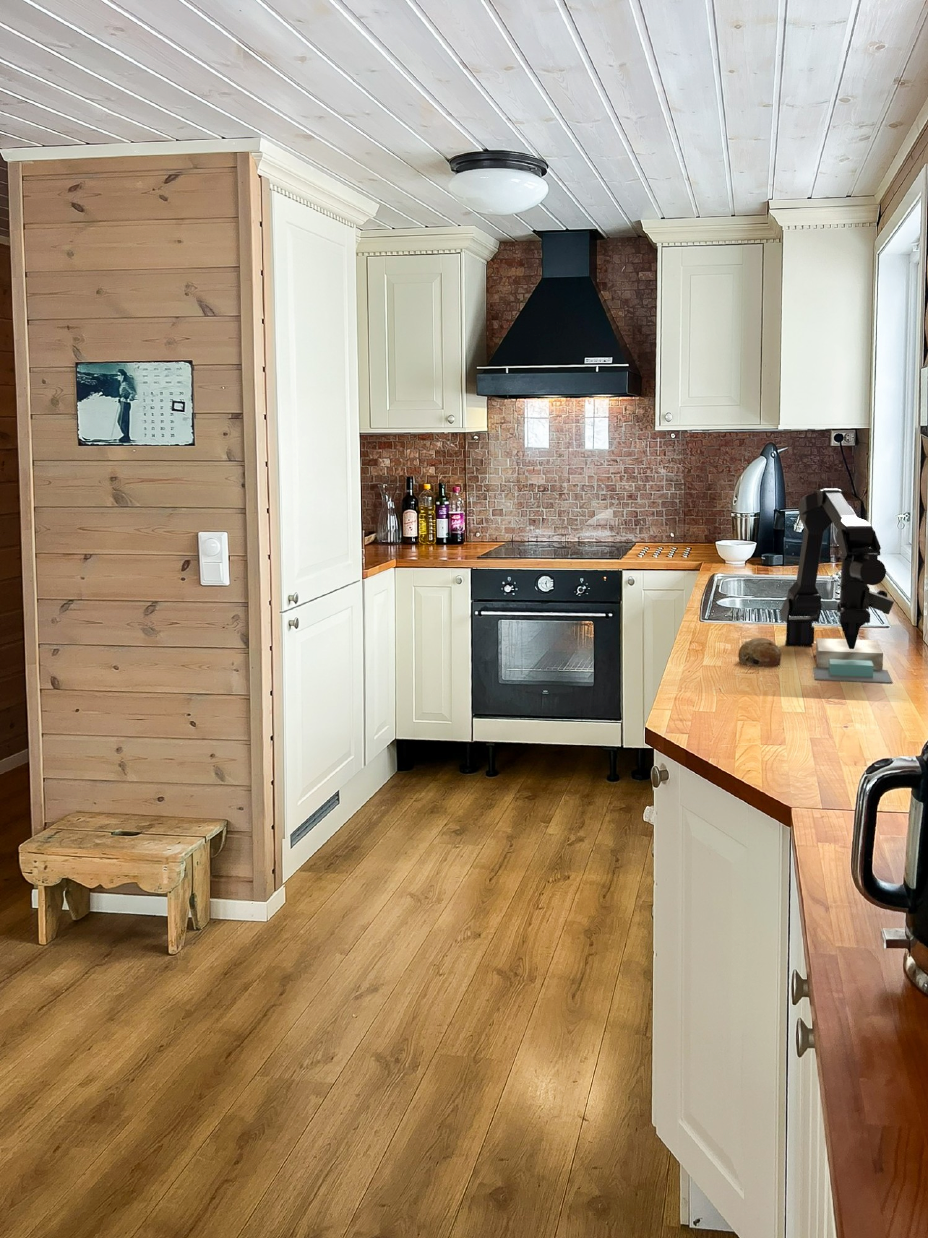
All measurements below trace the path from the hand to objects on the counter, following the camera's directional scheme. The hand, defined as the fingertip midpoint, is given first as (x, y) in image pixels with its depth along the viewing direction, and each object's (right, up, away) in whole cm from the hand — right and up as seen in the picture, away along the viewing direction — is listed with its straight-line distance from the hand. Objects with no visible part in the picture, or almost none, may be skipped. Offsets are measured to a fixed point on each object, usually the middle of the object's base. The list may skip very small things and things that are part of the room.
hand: (851, 648), depth 261 cm
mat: (-2, -6, -5) cm, 8 cm away
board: (+3, -3, +11) cm, 12 cm away
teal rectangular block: (-2, -3, -4) cm, 5 cm away
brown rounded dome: (-18, -4, +11) cm, 22 cm away
